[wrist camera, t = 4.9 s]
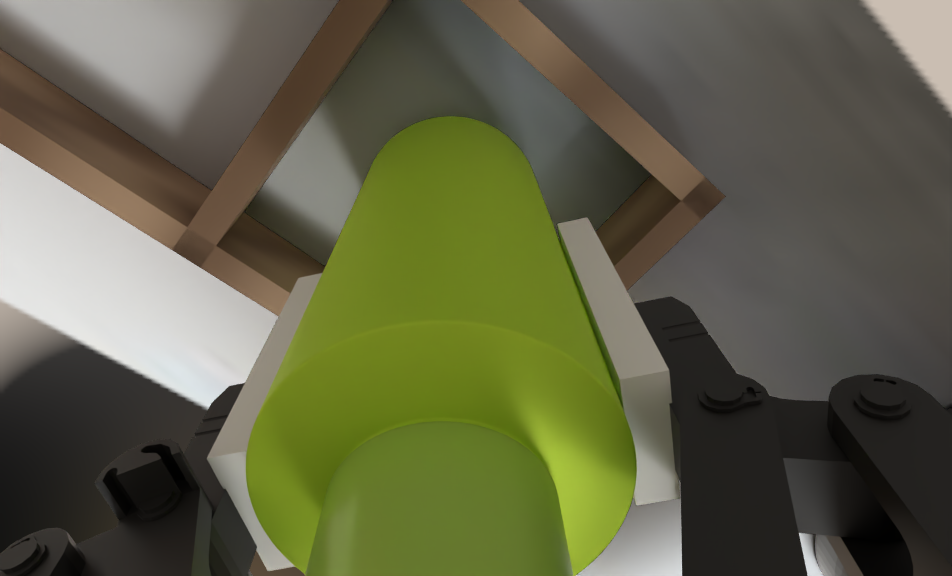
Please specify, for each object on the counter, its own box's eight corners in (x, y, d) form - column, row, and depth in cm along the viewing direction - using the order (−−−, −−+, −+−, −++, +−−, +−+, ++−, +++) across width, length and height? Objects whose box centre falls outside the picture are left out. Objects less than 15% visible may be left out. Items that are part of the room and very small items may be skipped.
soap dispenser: (343, 284, 22) (-116, 1533, 4) (384, 93, 19) (-494, 1523, 1) (500, 321, 23) (639, 1492, 5) (561, 143, 20) (1348, 1435, 2)
